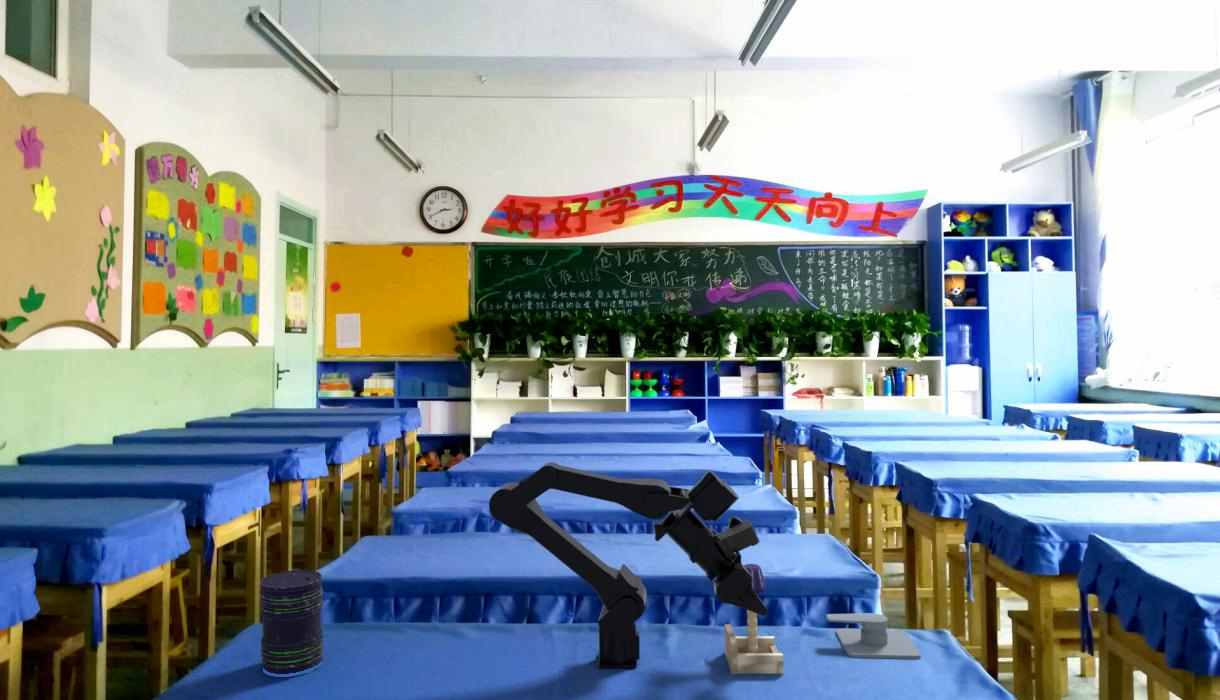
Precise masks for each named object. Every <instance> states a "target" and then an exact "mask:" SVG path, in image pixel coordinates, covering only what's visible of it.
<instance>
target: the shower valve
mask: <svg viewBox="0 0 1220 700" xmlns="http://www.w3.org/2000/svg"><path fill="white" fill-rule="evenodd" d="M825 618H826V620H827V621H828V622H829V623H842V624H843V623H844V624H845V623H846V624H860V626H861V628H837V629H835V634H836V636H837V638H838V640H839V642H840V644H841V645H842V647H843V650H844V651H845V653H846V655H847V656H848V657H850V658H858V659H859V658H868V659H904V660H905V659H907V660H908V659H911V660H916V659H917V660H919V659H921V658H922V654H921V652H920V651H919V649H918V648H917V647H916V645H915V644H914V642H913V641H912V640H911V639H910V637H908V634H906V632H905V631H904V630H902V631H892V630H893V629H890V630H886V629H888V625H889V624H888V621H889V620H888V617H886V616H884V615H883V614H880V613H872V612H871V613H866V612H864V613H863V612H862V613H861V612H860V613H827V614H826V617H825Z"/></svg>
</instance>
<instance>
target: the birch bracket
mask: <svg viewBox="0 0 1220 700" xmlns="http://www.w3.org/2000/svg"><path fill="white" fill-rule="evenodd" d="M757 637H758V643H757V645H758V653H746V652H748V645H749V643H748V635H747V636H746V635H744V636H743V635H742V636H741V635H738V636H736V635H735V633H734V630H733V628H732V625H731V624H730V623H729V624H724V654H725V658H726V660H727V664H728V668H729V670H730V672H731V675H739V674H740V675H741V674H743V675H745V674H746V675H747V674H748V675H749V674H757V675H758V674H767V675H769V674H771V675H773V674H774V675H784V672H785V671H784V669H785V668H784V666H785V665H784V663H785V661H784V654H783V653H782V652H779V650H778V647H777V646H776V638H775V636H773V635H772V636H771V635H770V636H769V635H764V636H763V635H762V636H761V635H760V636H759V635H757Z"/></svg>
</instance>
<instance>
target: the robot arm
mask: <svg viewBox="0 0 1220 700" xmlns="http://www.w3.org/2000/svg"><path fill="white" fill-rule="evenodd" d="M549 490H557V491H562V492H566V493H571V494H574V495H579V496H584V497H588V498H593V499H596V500H602V501H607V502H611V503H614V504H617V505H619V506H622V507H624V508H625V509H627V510H629V511H631V512H632V513H635V514H638V515H640V516H642V517H644V518H647V519H649V520H655V521H654V522H653V527H654V540H655V541H656V542H659V541H660V540H662V538H663V537H665V536H666V535H667V536H668V537H669V538H670V539H671V540H672V541H673V542H674V543H675V544H676V545H677V546H678V547H679V548H680V549H681V551H683V552H684V553H685V554H686V555H687V556H688V559H689V561H690V562H691V563H692V564H696V565H697V566H698V567H699V568H700V569H701V570H702V571H703V572H704V573H705V575H706V577H707V578H708V580H710V581H711V582H713V591H714V594H715V595H716V597H717V598H718V599H719V601H720V602H722V603H723V604H727V605H732V606H735V607H739V608H740V609H741V608H742V609H744V610H745V611H747V610H749V611H752V612H754V613H757V615H759V616H763V617H765V616H766V615H767V614H768V613H769V610H768V608H767V607H766V605H765V604H764V603H763V601H762V600H761V598H760V597H759V594H760V593H757V594H756V593H755V591H754V590H753V588H752V581H753V578H752V575H751V573H750V572H749V571H748V570H747V569H746V567H745V566H744V564H743V563H742V555H741V552H740V551H742V550H744V549H747V548H749V547H751V546H752V547H755V546H757V545H758V544H760V538H759V536H758V535H757V533H756V530H755V528H754V526H753V524H752V522H751V521H750V520H748V519H744V520H743V521H742V520H741V519H740V518H739V517H738V516H736V515H735V516H732V517H730V518H728V520H727V523H728V524H727V527H726V528H724V531H722V532H721V531H720V532H719V533H718V531H717V530H715V529H714V528H709V527H708V526H707V525H706V524H705V523H704V521H705V522H711V520H712V521H713V522H716V521H718V520H719V518H720V517H721V516H722V515H724V514H725V513H726V512H727V511H728V510H729V509H730V508H731V507H732V506H733V505H734V504H735V503H736V502H737V501H739V500H740V497H739V495H738V494H737V493H736V492H735V490H734V489H733V488H732V487H731V486H730V485H729V484H728V483H727V482H726V481H725V480H723V479H722V478H720V477H719V476H718V475H717V474H715V473H714V472H713V471H712V470H710V469H709V470H707V471H706V472H705V473H704V474H703V476H702V478H701V479H700V480H699V481H698V482H697V483H696V484H694V485H693V487H691V489H689V488H685V487H684V488H682V487H677V486H672V485H671V486H670V485H669V483H668V482H666V481H664V480H663V479H660V478H659V479H658V478H643V477H641V478H639V477H638V478H620V477H615V476H612V475H611V476H610V475H606V474H601V473H596V472H593V471H589V470H588V471H587V470H582V469H580V468H573V467H570V466H569V467H568V466H564V465H560V464H558V463H556V462H551V461H550V462H546V463H545V464H544V465H542V466H541V467H540V468H539V469H537V470H536V471H535V472H533V473H531V474H529V475H528V476H526V477H524V478H523V479H522V480H520V481H519V482H516V481H512V482H507V483H504V484H503V485H502V486H501V487H500V488H498V489H497V490H496V491H494V493H493V494H492V495H491V497H490V498H489V503H488V507H489V514H490V515H491V516H492V517H493V519H494V520H496V521H497V522H499V523H500V524H503V525H504V526H506V527H508V528H510V529H511V530H514V531H517V532H520V533H523V534H525V535H527V536H529V537H531V538H532V540H534V541H536V542H537V543H538V544H539V545H540V546H542V547H543V548H544V549H546V550H547V551H548V553H550V554H551V555H553V556H554V557H555V558H556V559H557V560H559V561H560V562H561V563H563V564H564V566H566V567H567V568H569V569H570V570H571V571H572V572H573V573H575V575H577V576H578V577H580V578H581V579H582V580H583V581H584V582H585V583H587V584H588V585H589V586H590V587H592V588H593V590H594V592H595V593H596V594H597V596H598V598H599V600H600V601H601V602H602V604H603V605H602V608H601V612H600V615H599V618H598V620H597V624H598V658H597V659H598V661H597V666H598V668H637V667H638V661H639V660H640V657H641V656H640V647H641V646H640V631H639V630H637V621H638V620H639V619H640V618H642V616H643V615H644V612H645V606H646V602H647V595H648V594H647V589H646V586H645V585H644V583H643V582H642V576H639V575H636V574H635V573H633V572H632V571H631V570H630V568H629V567H628V566H627V565H626V564H624V563H623V564H622V565H621V567H620V568H619V569H618V568H617V569H616V568H614V567H611V566H609V565H608V564H606V563H605V562H604V561H602V559H600V558H599V557H597V556H596V555H595V554H594V553H593V552H591V550H589V549H588V548H587V547H585V546H584V545H583V544H582V543H581V542H580V541H578V540H577V539H576V538H574V537H573V536H572V535H571V534H570V533H568V532H567V531H566V530H565V529H564V528H562V527H561V526H559V524H557V523H556V522H555V521H554V520H553V519H551V518H550V517H549V516H547V514H546V513H545V512H544V511H543V509H542V507H541V506H540V505H539V502H538V501H537V499H538V497H540V496H541V495H543V494H544V493H546V492H547V491H549ZM692 510H693V511H694V512H695V513H696V514H697V515H698V516H699V517H700V518H701V519H702V520H703V521H702V520H701V519H700V518H699V517H698V516H697V515H696V514H695V513H694V512H693V511H692ZM664 517H665V518H664ZM662 518H664V519H662ZM660 519H662V520H660ZM656 520H660V521H656ZM715 578H716V579H715ZM714 579H715V580H714ZM713 580H714V581H713Z"/></svg>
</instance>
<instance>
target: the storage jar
mask: <svg viewBox="0 0 1220 700" xmlns="http://www.w3.org/2000/svg"><path fill="white" fill-rule="evenodd" d="M322 578H323V575H322V574H321V573H320V572H319V571H315V570H307V569H301V570H299V569H297V570H287V571H281V572H277V573H273V574H270V575H267V576H265V577H264V578H262V579H261V580H260V588H261V589H260V597H259V599H260V600H259V601H260V603H259V604H260V615H261V617H262V636H261V638H260V639H261V641H260V645H261V646H260V647H261V648H260V655H261V662H262V666H263V668H264V669H265V670H266V671H268V672H270V673H275V674H289V673H296V672H300V671H304V670H306V669H309V668H312V667H314V666H316V665H318V664H319V663H320V662H321V661H322V658H323V654H324V653H323V652H324V651H323V649H324V631H323V629H322V616H321V614H322V611H321V610H322V609H323V604H324V602H323V598H324V597H323V596H324V594H323V593H324V590H323V585H322V580H323V579H322Z"/></svg>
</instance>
